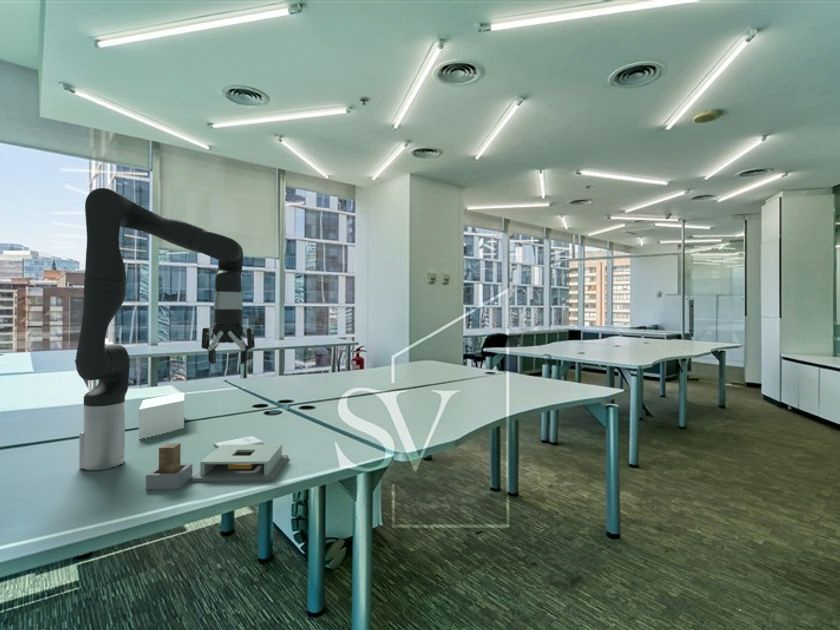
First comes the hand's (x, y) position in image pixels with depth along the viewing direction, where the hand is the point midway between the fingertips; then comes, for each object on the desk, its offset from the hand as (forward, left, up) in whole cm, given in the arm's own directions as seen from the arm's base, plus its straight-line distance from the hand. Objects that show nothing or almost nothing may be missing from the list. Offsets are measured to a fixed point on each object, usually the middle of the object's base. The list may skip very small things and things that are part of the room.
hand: (228, 363), depth 125 cm
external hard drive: (-1, +13, -29) cm, 31 cm away
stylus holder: (-8, -17, -28) cm, 34 cm away
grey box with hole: (+7, -8, -28) cm, 30 cm away
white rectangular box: (-35, +33, -28) cm, 55 cm away
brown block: (-8, -17, -27) cm, 33 cm away
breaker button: (+7, -8, -27) cm, 29 cm away
